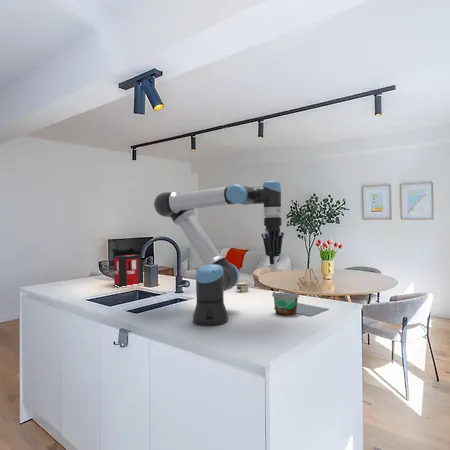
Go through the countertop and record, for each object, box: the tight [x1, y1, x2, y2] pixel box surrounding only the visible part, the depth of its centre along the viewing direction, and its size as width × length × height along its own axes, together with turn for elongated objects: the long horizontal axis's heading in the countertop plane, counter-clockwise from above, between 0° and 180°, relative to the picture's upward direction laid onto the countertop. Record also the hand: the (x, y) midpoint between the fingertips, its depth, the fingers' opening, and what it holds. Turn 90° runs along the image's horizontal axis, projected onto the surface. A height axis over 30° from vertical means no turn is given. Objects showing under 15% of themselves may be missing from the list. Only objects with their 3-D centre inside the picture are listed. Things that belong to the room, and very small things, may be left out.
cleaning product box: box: [113, 253, 144, 287], centre depth 236 cm, size 16×9×20 cm, turn 130°
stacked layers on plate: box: [235, 281, 249, 294], centre depth 209 cm, size 10×9×6 cm
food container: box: [271, 290, 300, 317], centre depth 159 cm, size 12×6×10 cm, turn 73°
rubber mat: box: [273, 302, 330, 317], centre depth 168 cm, size 16×20×1 cm
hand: (273, 271), depth 153 cm, fingers closed
